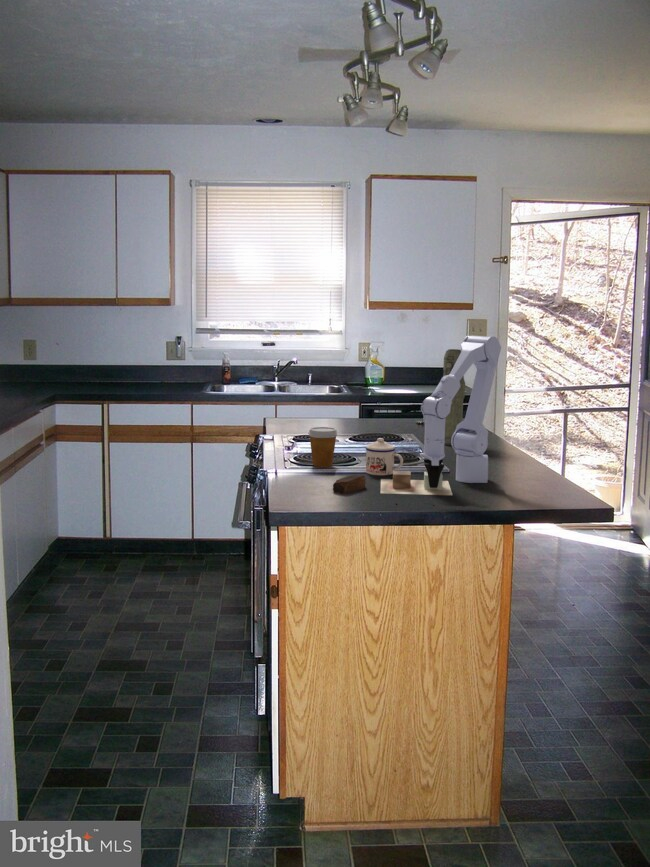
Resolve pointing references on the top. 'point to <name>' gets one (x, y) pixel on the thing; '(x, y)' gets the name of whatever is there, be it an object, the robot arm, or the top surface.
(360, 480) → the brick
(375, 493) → the top surface
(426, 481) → the sage block
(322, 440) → the disposable coffee cup
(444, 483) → the build board
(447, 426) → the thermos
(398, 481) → the walnut block
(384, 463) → the teacup with lid
